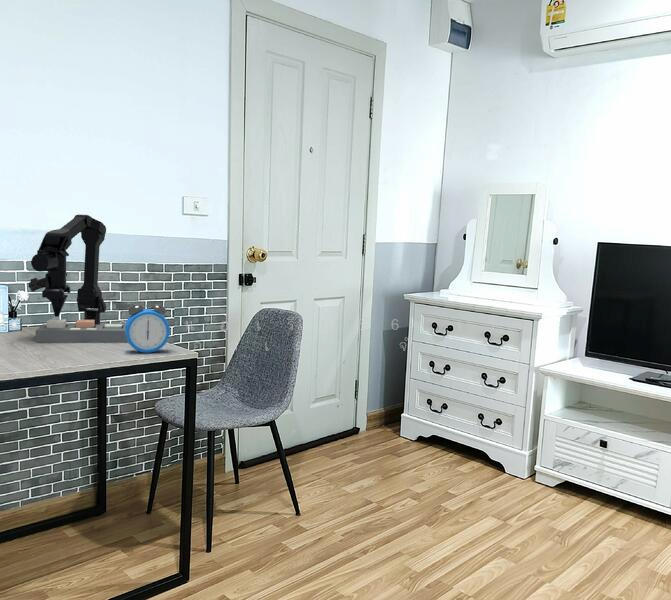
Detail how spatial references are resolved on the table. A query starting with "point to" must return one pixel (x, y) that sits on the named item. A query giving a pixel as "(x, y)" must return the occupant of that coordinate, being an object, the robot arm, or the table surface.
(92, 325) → the terracotta key
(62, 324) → the cream key
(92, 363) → the table surface
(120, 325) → the sage key
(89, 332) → the console
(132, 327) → the alarm clock
